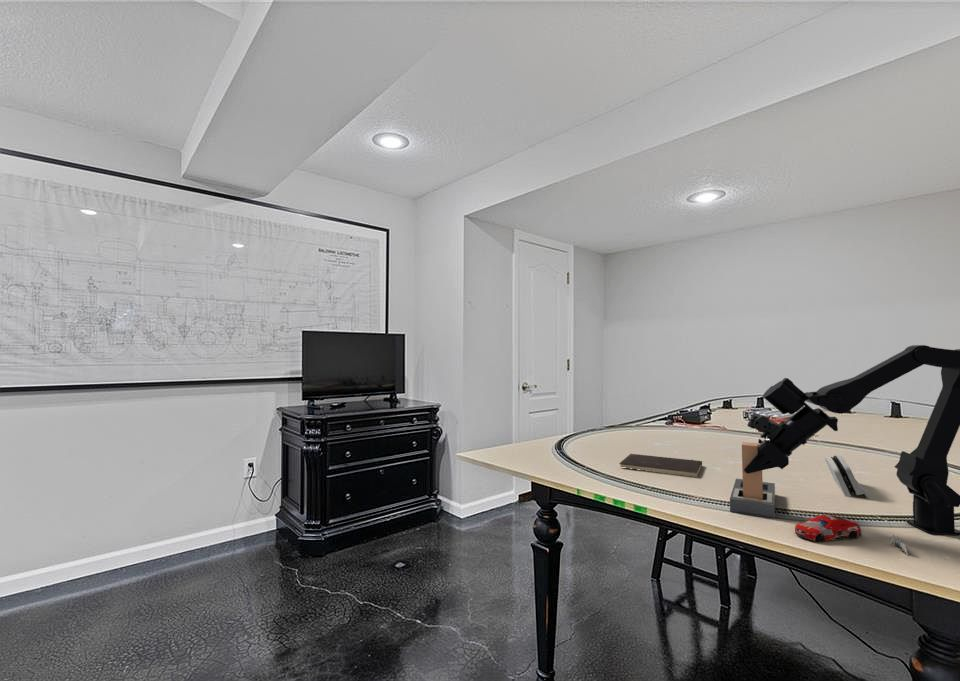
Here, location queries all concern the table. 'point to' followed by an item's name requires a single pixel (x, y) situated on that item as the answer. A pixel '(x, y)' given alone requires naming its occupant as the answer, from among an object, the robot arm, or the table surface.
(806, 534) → the race car
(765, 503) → the block with square holes
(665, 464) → the hardcover book
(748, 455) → the peg
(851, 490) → the white slotted holder
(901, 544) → the small metal piece
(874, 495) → the table surface
